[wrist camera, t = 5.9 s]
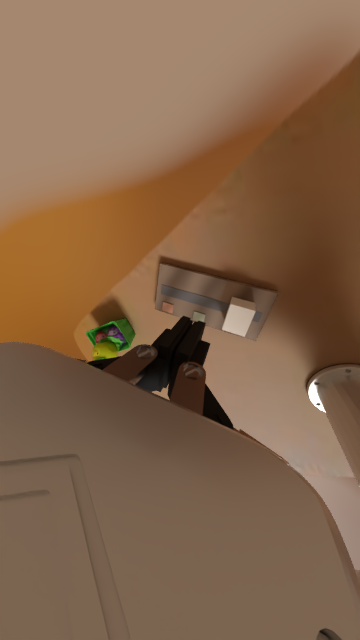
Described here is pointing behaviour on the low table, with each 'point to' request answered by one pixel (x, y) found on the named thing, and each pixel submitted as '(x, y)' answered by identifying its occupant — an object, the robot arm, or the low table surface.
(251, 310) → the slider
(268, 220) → the low table surface
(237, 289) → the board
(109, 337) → the fruit basket
